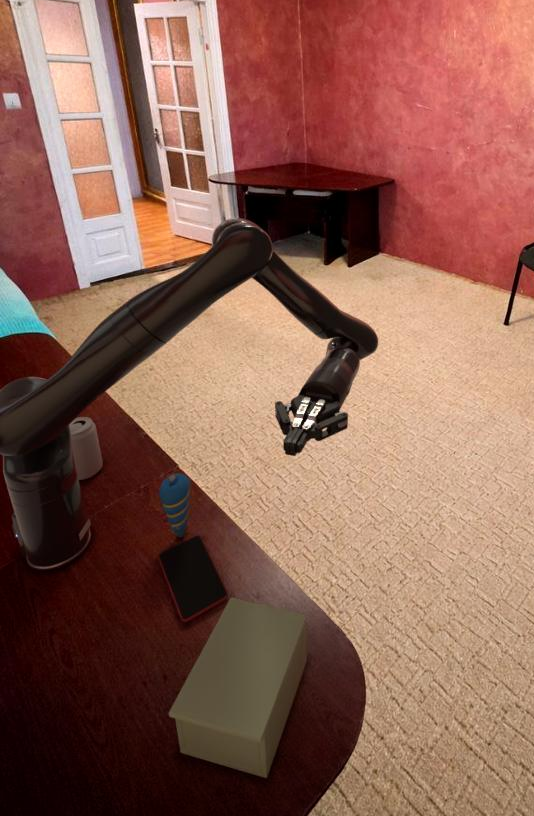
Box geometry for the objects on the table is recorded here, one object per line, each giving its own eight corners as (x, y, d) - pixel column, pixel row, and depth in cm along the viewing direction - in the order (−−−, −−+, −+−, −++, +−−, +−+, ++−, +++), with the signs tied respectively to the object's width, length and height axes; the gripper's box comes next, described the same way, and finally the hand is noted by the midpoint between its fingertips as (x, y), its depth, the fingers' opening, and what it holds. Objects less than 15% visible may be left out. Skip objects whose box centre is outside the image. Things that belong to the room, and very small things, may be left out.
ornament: (199, 526, 92) (193, 463, 87) (189, 549, 87) (182, 484, 82) (172, 525, 92) (163, 462, 86) (160, 549, 87) (150, 483, 82)
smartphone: (199, 533, 89) (229, 595, 79) (199, 536, 90) (230, 599, 79) (156, 553, 85) (182, 622, 74) (157, 557, 85) (183, 626, 74)
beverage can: (109, 462, 106) (101, 417, 102) (89, 484, 100) (79, 436, 96) (82, 459, 106) (73, 413, 102) (60, 480, 100) (49, 433, 96)
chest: (266, 778, 59) (264, 734, 56) (180, 753, 60) (173, 709, 57) (307, 660, 71) (306, 619, 68) (234, 641, 73) (231, 601, 70)
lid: (261, 743, 55) (260, 739, 55) (169, 717, 57) (168, 712, 56) (306, 619, 68) (306, 615, 68) (231, 600, 70) (230, 597, 70)
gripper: (292, 363, 86) (246, 421, 69) (364, 374, 84) (333, 437, 67) (293, 398, 88) (248, 463, 72) (363, 410, 86) (333, 479, 70)
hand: (289, 450), depth 70 cm, fingers closed
